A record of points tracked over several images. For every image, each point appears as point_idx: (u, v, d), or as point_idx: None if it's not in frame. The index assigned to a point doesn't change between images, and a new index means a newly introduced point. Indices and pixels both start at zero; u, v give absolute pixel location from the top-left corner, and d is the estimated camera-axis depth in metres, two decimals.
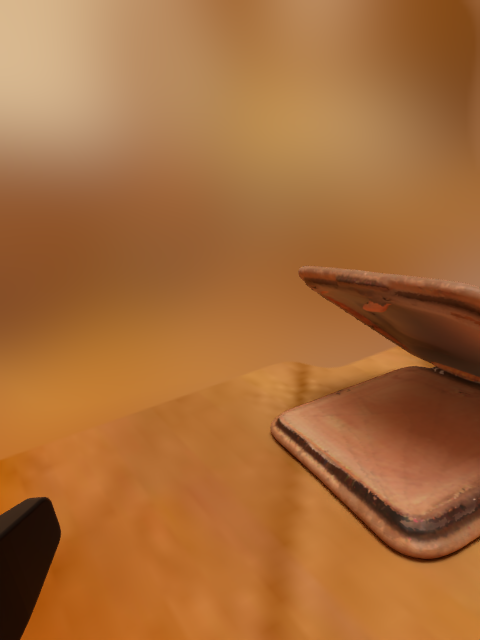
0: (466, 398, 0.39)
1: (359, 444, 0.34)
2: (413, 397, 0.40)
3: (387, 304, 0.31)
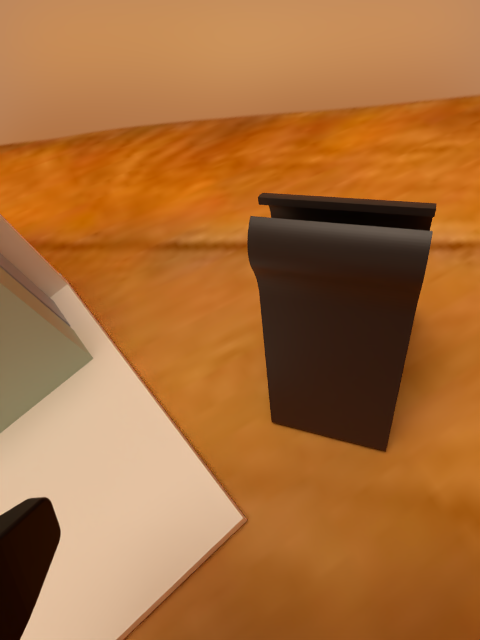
0: None
1: None
2: None
3: None
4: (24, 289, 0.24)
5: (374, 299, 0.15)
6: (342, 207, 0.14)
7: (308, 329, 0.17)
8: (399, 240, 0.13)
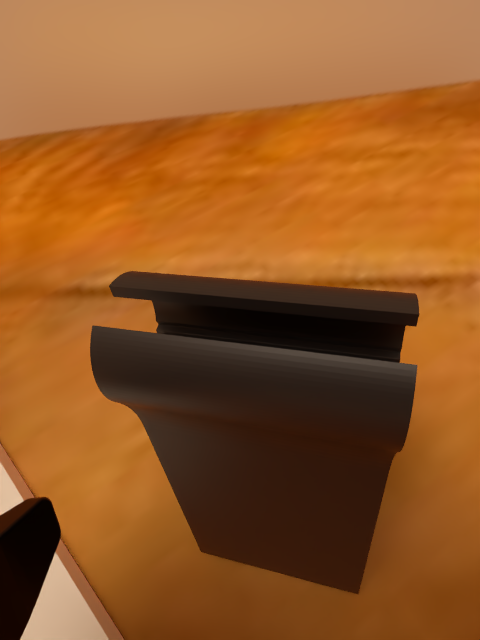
0: None
1: None
2: None
3: None
4: None
5: (322, 446, 0.09)
6: (252, 306, 0.08)
7: (227, 469, 0.11)
8: (355, 380, 0.07)
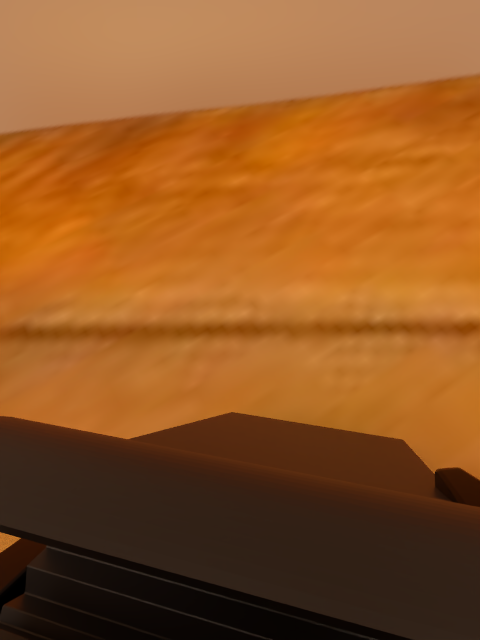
0: None
1: None
2: None
3: None
4: None
5: None
6: (187, 582, 0.03)
7: None
8: None
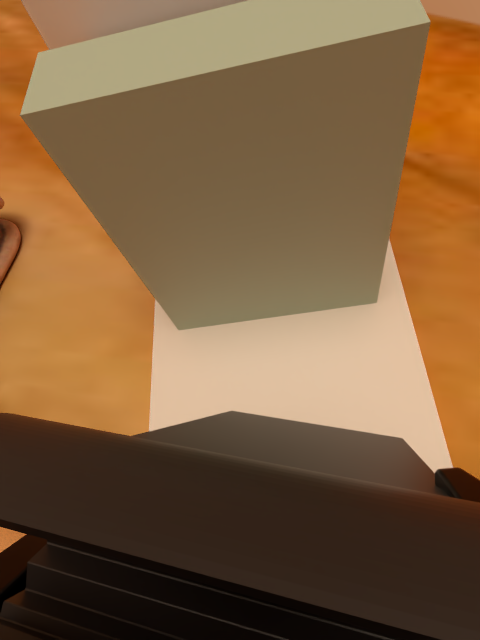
0: None
1: None
2: None
3: None
4: None
5: None
6: (188, 576, 0.03)
7: None
8: None
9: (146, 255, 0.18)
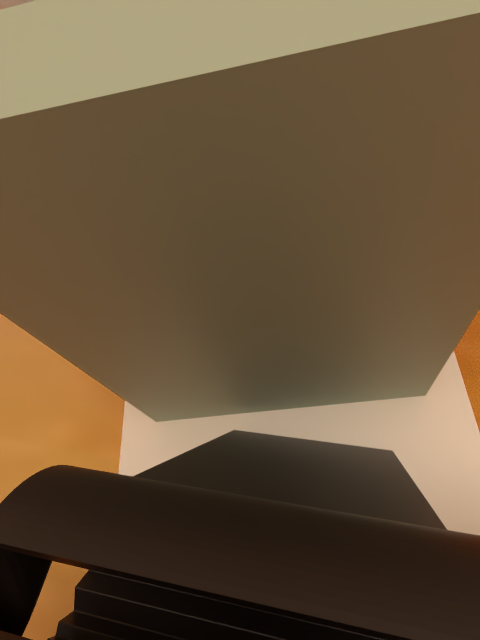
0: None
1: None
2: None
3: None
4: None
5: None
6: (225, 599, 0.04)
7: None
8: None
9: (95, 355, 0.12)
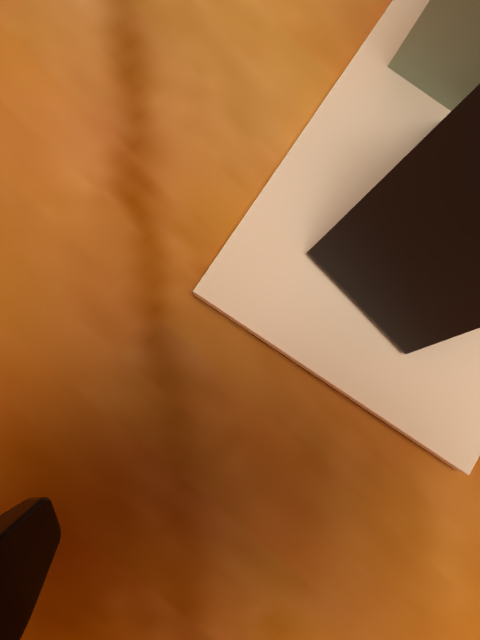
0: None
1: None
2: None
3: None
4: None
5: None
6: None
7: None
8: None
9: None
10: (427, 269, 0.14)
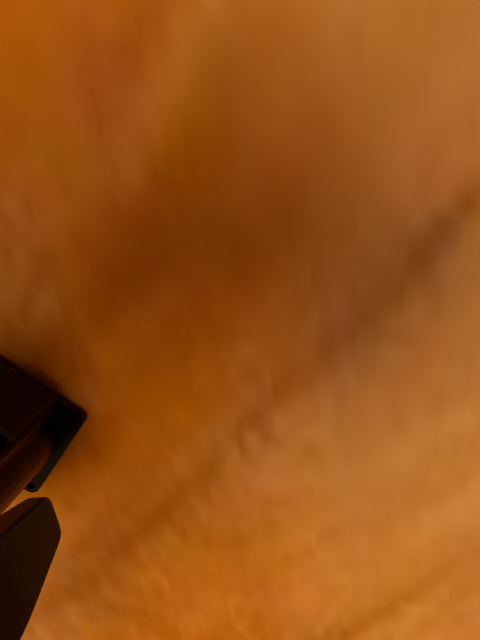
0: None
1: None
2: None
3: None
4: None
5: None
6: None
7: None
8: None
9: None
10: None
